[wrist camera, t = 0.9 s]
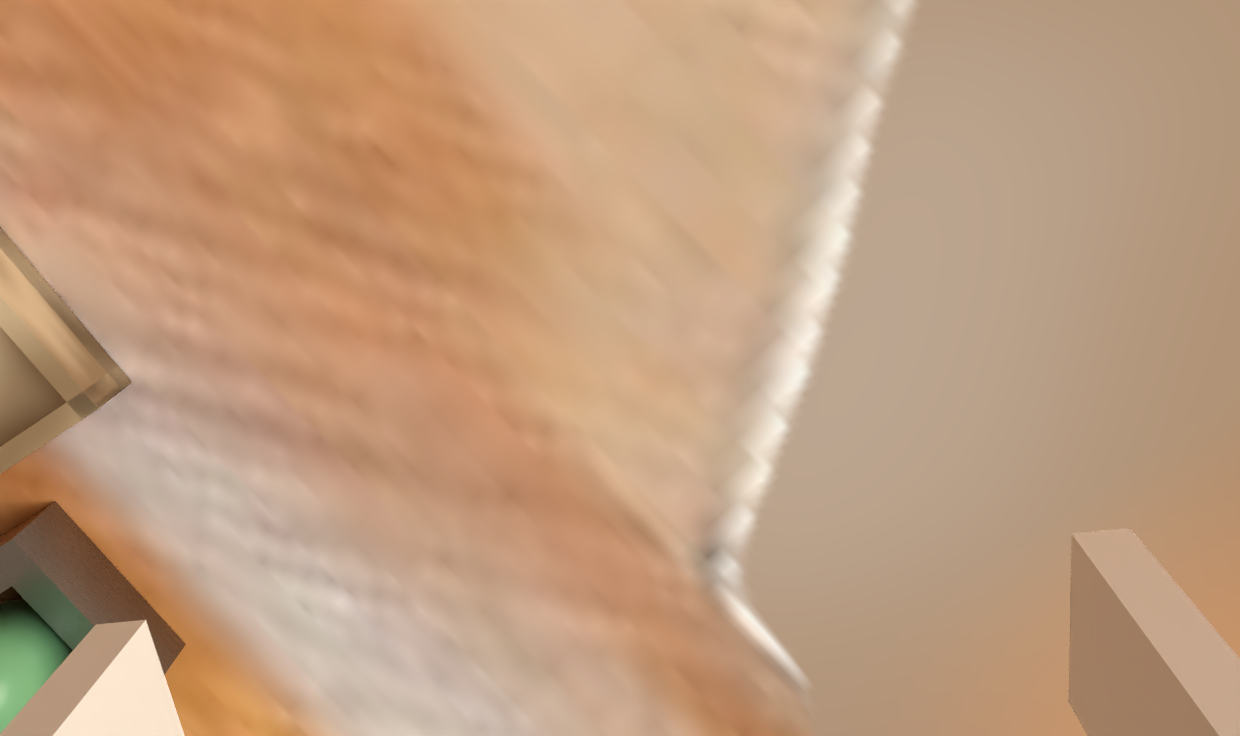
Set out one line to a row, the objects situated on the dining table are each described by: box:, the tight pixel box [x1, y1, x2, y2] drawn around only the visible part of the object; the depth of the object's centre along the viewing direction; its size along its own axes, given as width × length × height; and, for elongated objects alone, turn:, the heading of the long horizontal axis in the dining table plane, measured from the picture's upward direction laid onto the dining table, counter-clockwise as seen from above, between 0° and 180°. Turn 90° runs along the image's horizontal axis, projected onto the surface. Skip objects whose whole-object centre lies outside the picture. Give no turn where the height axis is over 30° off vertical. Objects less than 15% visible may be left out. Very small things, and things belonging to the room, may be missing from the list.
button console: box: [0, 502, 186, 674], centre depth 43 cm, size 8×8×3 cm
